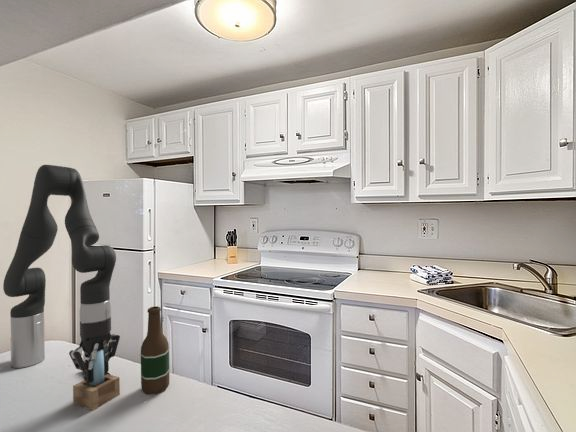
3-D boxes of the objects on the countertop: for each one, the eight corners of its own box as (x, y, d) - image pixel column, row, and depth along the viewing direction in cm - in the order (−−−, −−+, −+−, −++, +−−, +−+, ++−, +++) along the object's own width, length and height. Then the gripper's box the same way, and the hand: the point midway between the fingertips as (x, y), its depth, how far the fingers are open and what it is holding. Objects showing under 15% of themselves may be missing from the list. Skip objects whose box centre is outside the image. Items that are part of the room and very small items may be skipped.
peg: (86, 387, 88) (85, 351, 88) (98, 381, 91) (98, 346, 91) (95, 390, 87) (94, 354, 87) (107, 383, 90) (106, 348, 90)
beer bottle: (141, 384, 96) (140, 305, 96) (168, 379, 99) (167, 302, 99) (140, 398, 89) (139, 313, 89) (170, 391, 92) (168, 309, 92)
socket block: (73, 403, 87) (73, 385, 87) (100, 389, 94) (100, 372, 94) (93, 410, 84) (92, 391, 84) (119, 394, 91) (119, 377, 91)
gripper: (109, 308, 97) (110, 364, 97) (60, 323, 84) (61, 388, 84) (126, 311, 94) (127, 369, 94) (79, 327, 81) (80, 394, 81)
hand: (96, 378), depth 89 cm, fingers closed on peg, 3 cm apart
